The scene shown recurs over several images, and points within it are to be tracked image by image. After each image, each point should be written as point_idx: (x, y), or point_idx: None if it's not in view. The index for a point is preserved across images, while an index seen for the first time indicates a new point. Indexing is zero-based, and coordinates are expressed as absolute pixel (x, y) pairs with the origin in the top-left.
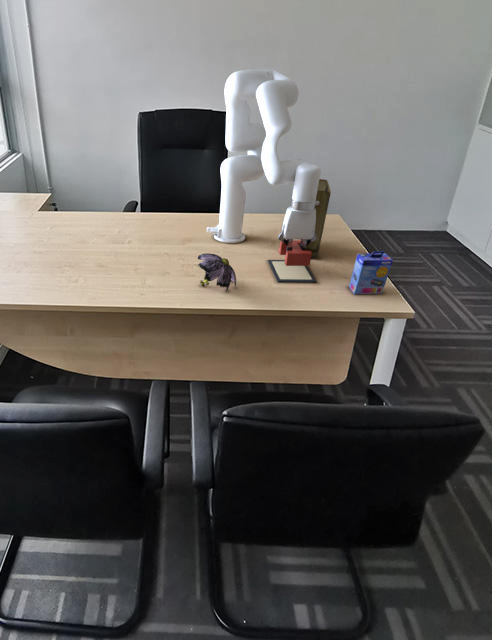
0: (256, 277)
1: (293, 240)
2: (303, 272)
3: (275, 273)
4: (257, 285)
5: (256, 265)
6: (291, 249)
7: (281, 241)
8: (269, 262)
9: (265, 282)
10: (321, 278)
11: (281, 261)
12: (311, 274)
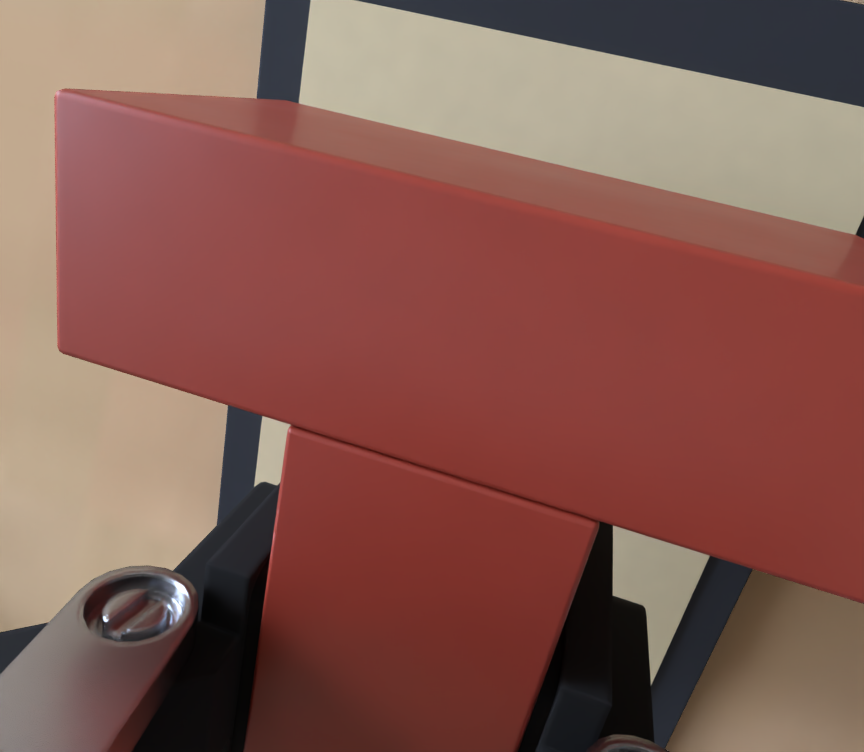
0: (18, 431)
1: (570, 239)
2: (636, 533)
3: (236, 437)
4: (7, 589)
5: (64, 71)
6: (235, 749)
7: (63, 221)
8: (265, 27)
9: (91, 563)
10: (809, 708)
11: (487, 35)
12: (722, 611)
